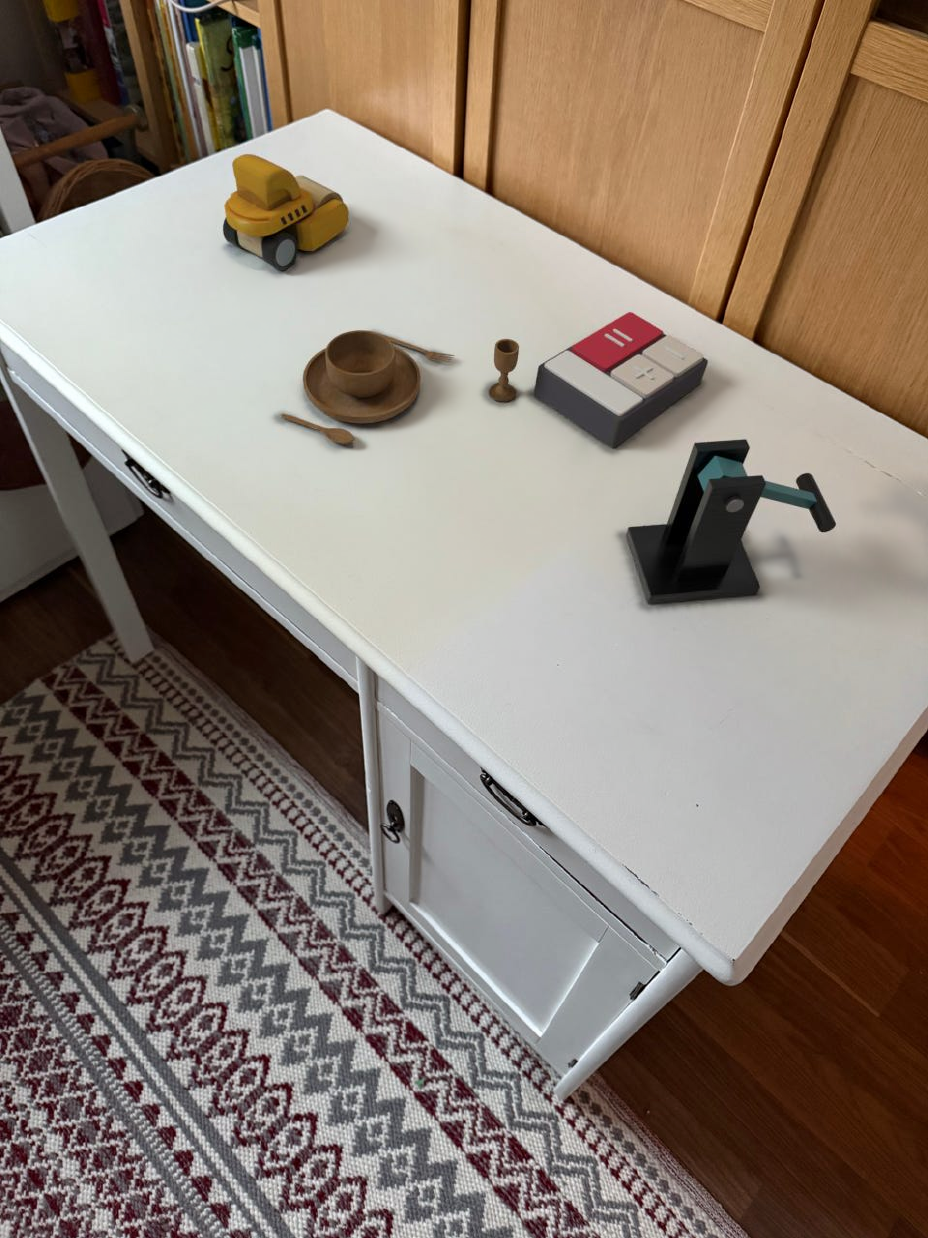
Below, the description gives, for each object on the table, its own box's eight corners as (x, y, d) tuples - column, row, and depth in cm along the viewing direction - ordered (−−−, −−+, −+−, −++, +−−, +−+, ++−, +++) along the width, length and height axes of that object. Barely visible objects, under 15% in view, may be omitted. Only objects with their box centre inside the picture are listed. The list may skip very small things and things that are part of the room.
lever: (800, 489, 80) (819, 470, 78) (823, 537, 77) (844, 519, 75) (691, 460, 75) (708, 440, 73) (711, 511, 72) (730, 490, 70)
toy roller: (356, 229, 110) (351, 143, 102) (270, 282, 103) (257, 194, 95) (303, 202, 113) (294, 116, 105) (217, 252, 106) (199, 163, 98)
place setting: (359, 324, 100) (357, 276, 95) (522, 387, 95) (528, 340, 90) (266, 418, 91) (258, 370, 86) (441, 492, 86) (443, 447, 81)
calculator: (712, 354, 94) (622, 415, 87) (700, 387, 97) (613, 449, 90) (629, 305, 98) (537, 359, 91) (621, 339, 101) (531, 394, 94)
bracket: (729, 527, 85) (773, 423, 74) (756, 594, 80) (807, 495, 70) (625, 535, 84) (655, 431, 73) (647, 604, 79) (683, 504, 69)
